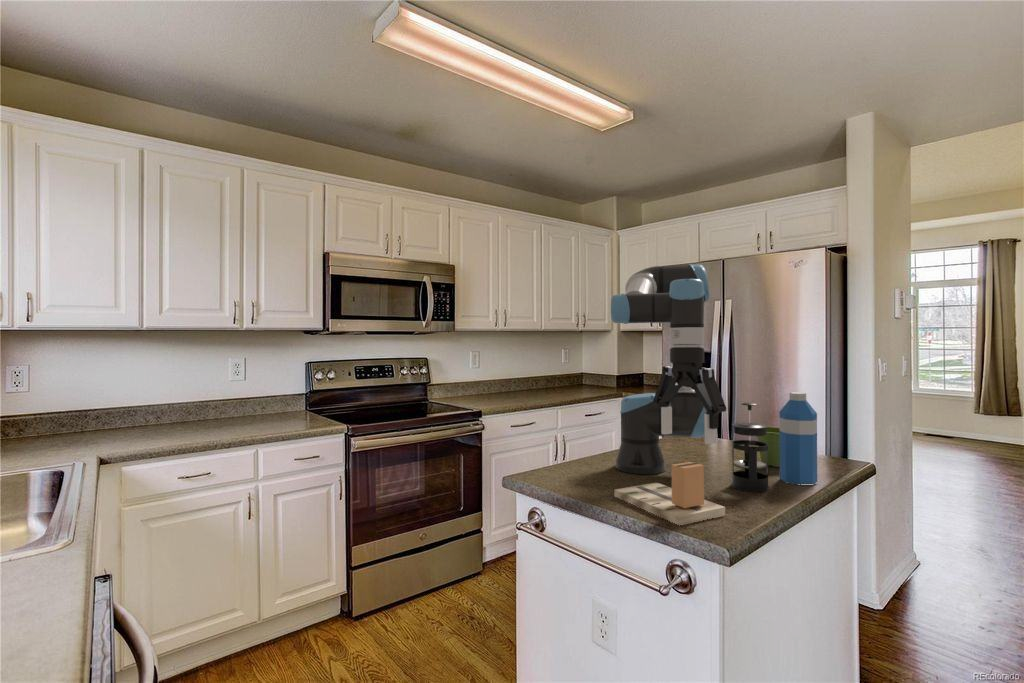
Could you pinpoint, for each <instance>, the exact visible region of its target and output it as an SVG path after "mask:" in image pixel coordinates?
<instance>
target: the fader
mask: <svg viewBox="0 0 1024 683" xmlns="http://www.w3.org/2000/svg"><path fill="white" fill-rule="evenodd" d="M704 470H705V465H704V464H700V463H699V462H692V461H688V462H686V461H685V462H681V463H680V462H679V463H673V464H671V488H672V504H675V505H677V506H680V507H682V508H689V507H694V506H699V505H704V500H705V471H704Z"/></svg>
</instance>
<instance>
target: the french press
mask: <svg viewBox="0 0 1024 683" xmlns="http://www.w3.org/2000/svg"><path fill="white" fill-rule="evenodd" d="M741 405H742V406H747V411H748V422H735V423H732V424H731V426H732V427H733V433H734V434H736V435H740V436H748V439H737V440H733V441H731V449H732V451H731V454H732V455H731V461H732V462H731V463H732V464H731V470H732V472H731V473H732V476H731V477H732V481H731V487H732V488H734V489H737V490H739V491H745V492H751V493H763V492H768V491H769V490H770V486H769V466H768V444H767V443H764V442H760V441H758V440H751V439H752V438H751V437H757V436H763V435H766V429H767V428H768V427H769V426H768V425H766V424H761V423H755V422H751V411H752V406H753V407H754V406H759V404H758V403H756V402H742V403H741ZM734 449H735V450H739V451H744V458H743V459H739V460H737V459H736V460H735V459H734V457H735V456H734V455H735V454H734ZM760 451H766V464H765V463H763V462H761V461H758V452H759V453H760ZM734 467H737V468H740V469H744V470H736V471H735V470H734ZM765 469H766V474H765V473H763V472H758V470H765Z"/></svg>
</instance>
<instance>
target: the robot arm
mask: <svg viewBox="0 0 1024 683" xmlns="http://www.w3.org/2000/svg"><path fill="white" fill-rule="evenodd" d="M705 268H706V267H704V266H703V265H702V264H691V263H688V264H679V265H674V264H673V265H660V266H659V265H657V266H651V267H650V266H649V267H646V268H643V269H641V270H639V271H637V272H635V273H633V274H632V275H631V276H630V277H629V278H628V280H627V282H626V284H625V293H621V294H620V293H619V294H613V295H612V296H611V299H610V316H611V317H610V318H611V320H612V322H613V323H614V324H624V325H627V324H651V323H653V324H658V323H660V324H663V323H667V324H668V323H669V343H670V344H669V345H670V349H669V362H670V365H669V366H668V365H667V366H665V365H664V366H662V369H661V371H662V372H661V376H660V380H659V382H658V386H657V388H656V391H655V392H649V393H638V394H632V395H628V396H624V397H623V398H622V399H621V402H620V411H619V414H620V446H619V449H618V451H617V456H616V458H615V468H617V469H616V470H617V471H620V470H621V472H623V473H627V472H628V474H633V473H634V474H633V475H655V474H660V473H664V472H665V471H666V461H665V460H664V457H663V456H664V454H663V453H662V452H663V451H662V450H661V447H660V437H673V438H674V437H676V438H689V439H692V438H704V445H711V444H712V445H714V444H716V443H717V429H718V428H719V414H720V413H724V412H726V411H727V406H726V403H725V401H724V398H723V396H722V394H721V391H720V388H719V386H718V383H717V380H716V377H715V369H714V368H711V367H709V368H707V367H706V368H703V363H705V348H704V347H702V345H703V346H704V344H705V324H704V322H705V320H704V319H705V317H704V316H705V302H708V301H710V291H709V289H710V288H709V280H708V275H707V270H706V269H705Z"/></svg>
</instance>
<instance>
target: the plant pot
mask: <svg viewBox="0 0 1024 683" xmlns="http://www.w3.org/2000/svg"><path fill="white" fill-rule="evenodd" d="M756 438H757V441H760V442H764V443H767V444H768V467H769V466H771V467H774V468H780V429H779V427H778V426H768V428H767V429H766V435H763V436H756ZM759 457H760V462H763V463H765V464H766V451H760V452H759Z"/></svg>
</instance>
